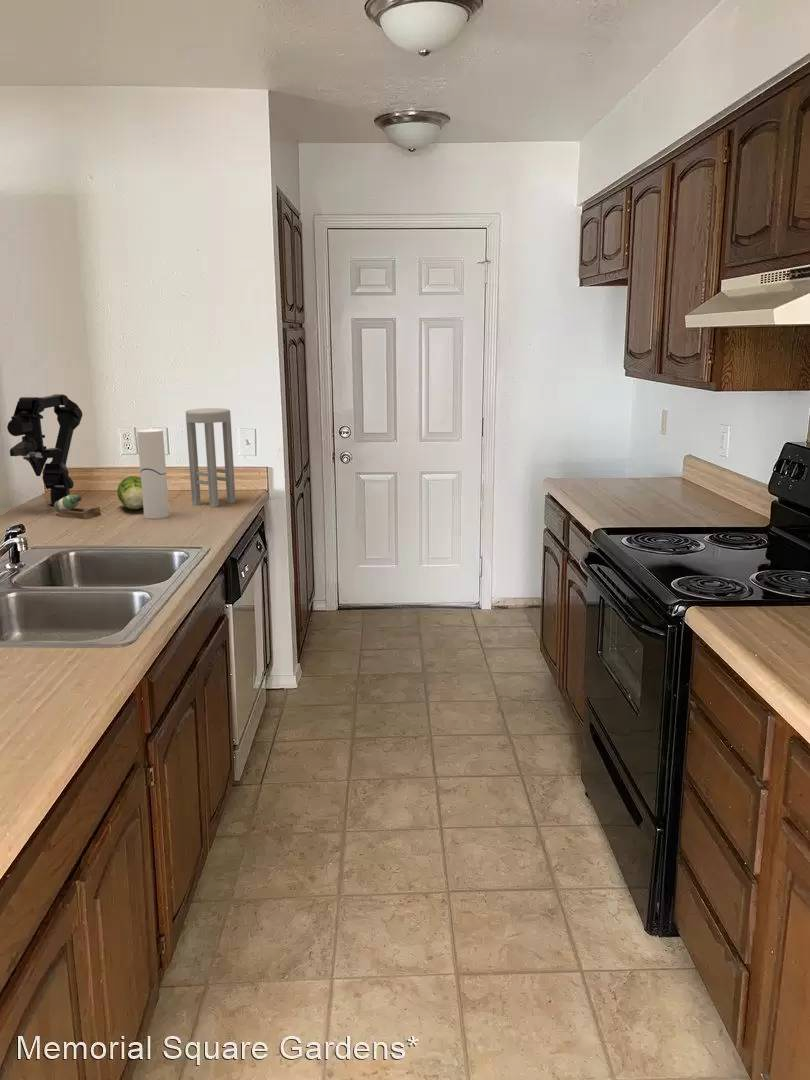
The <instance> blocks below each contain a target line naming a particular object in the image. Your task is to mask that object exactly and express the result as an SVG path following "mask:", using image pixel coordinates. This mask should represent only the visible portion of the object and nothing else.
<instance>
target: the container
mask: <svg viewBox="0 0 810 1080" xmlns="http://www.w3.org/2000/svg"><path fill="white" fill-rule="evenodd" d="M136 436H137V448H138V459H139V460H138V461H139V470H140V471H139V472H140V473H139V474H140V478H141V485H142V496H143V507H142V508H143V517H144V518H145V519H149V520H150V519H153V520H155V519H156V520H157V519H164V518H168V517H170V504H169V502H170V501H169V493H168V492H169V490H168V479H167V477H168V476H167V467H166V465H167V464H166V455H165V452H166V451H165V443H164V442H165V441H164V430H163V429H156V428H155V429H153V428H152V429H151V428H150V429H140V430H136Z"/></svg>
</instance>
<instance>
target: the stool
mask: <svg viewBox="0 0 810 1080" xmlns="http://www.w3.org/2000/svg"><path fill="white" fill-rule="evenodd" d="M231 417H232V415H231V410H230V409H228V408H221V407H219V408H217V407H216V408H214V407H213V408H212V407H211V408H210V407H209V408H194V409H188V410H185V421H186V422H185V423H186V435H187V436H186V437H187V449H188V450H187V451H188V452H187V453H188V463H189V464H188V466H189V478H190V492H191V493H190V494H191V504H192V505H193V506H194V505H195V506H198V505H202V499H201V486H200V485H206V486H207V487H208V497H209V498H208V499H209V507H210V508H217V507H220V505H219V490H218V489H219V488H218V481H223V482H225V488H226V489H225V490H226V503H227V504H233V503H234V504H235V503H236V488H235V487H236V485H235V471H234V470H235V469H234V455H233V454H234V452H233V451H234V450H233V436H232V433H233V432H232V420H231V419H232V418H231ZM214 423H221V424H222V426H221V427H222V440H223V442H222V444H223V457H224V469H223V468H217V458H216V457H217V456H216V441H215V439H216V438H215V428H214V427H215V426H214ZM196 424H204V437H205V439H204V440H205V454H206V469H207V472H205V471H204V472H203V471H199V459H198V458H199V457H198V445H197V444H198V441H197V431H196V429H197V426H196ZM217 473H220V474H221V473H222V474H224V475H225V477H224V476H223V477H221V476H218V474H217ZM200 477H207V480H203V479H200Z"/></svg>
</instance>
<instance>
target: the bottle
mask: <svg viewBox="0 0 810 1080" xmlns="http://www.w3.org/2000/svg"><path fill="white" fill-rule="evenodd" d="M81 501H82V496H81V495H79V494H72V493H70V495H68V496H66V497H64V498H62V499H60V500H58V501H56V502H55V504H54V505H53V507H54V510H55V511H56V512H57V513H58V514H59V512H58V511H60V510H66V511H70V510H71V509H73V508H78V506H79V502H81Z"/></svg>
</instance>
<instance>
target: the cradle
mask: <svg viewBox="0 0 810 1080" xmlns="http://www.w3.org/2000/svg"><path fill="white" fill-rule="evenodd" d="M58 512H59V513H58ZM58 512H57V513H58V517H61V518H72V519H81V520H84V519H85V520H88V519H92V518H95V517H99V516H101V515H102V514H101V507H100V506H93V507H91V508H85V507H75V508H73V509H71V510H69V511H66V510H60V511H58Z"/></svg>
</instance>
